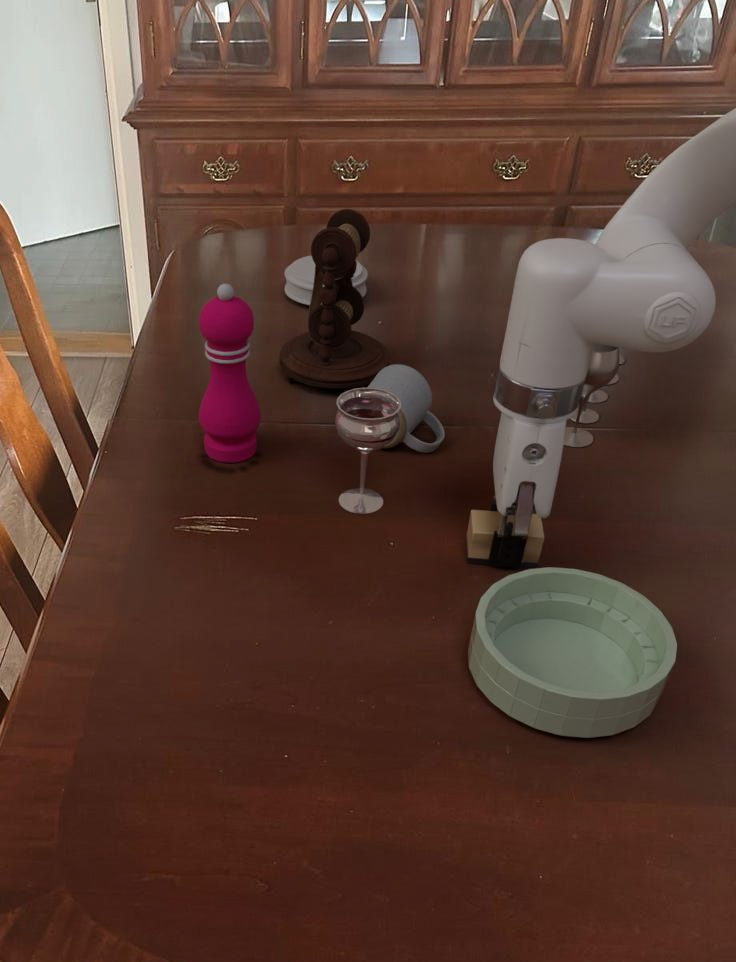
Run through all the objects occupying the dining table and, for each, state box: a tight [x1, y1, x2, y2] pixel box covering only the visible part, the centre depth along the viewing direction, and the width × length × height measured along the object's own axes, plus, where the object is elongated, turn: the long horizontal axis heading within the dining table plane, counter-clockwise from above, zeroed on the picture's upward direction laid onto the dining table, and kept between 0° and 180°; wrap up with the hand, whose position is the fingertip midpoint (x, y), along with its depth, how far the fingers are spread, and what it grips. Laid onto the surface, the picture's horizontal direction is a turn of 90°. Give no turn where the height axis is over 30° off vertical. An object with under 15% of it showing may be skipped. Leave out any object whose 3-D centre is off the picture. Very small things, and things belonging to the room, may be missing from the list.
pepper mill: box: [198, 283, 262, 464], centre depth 104 cm, size 7×7×20 cm
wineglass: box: [334, 387, 401, 515], centre depth 99 cm, size 7×7×12 cm
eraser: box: [465, 509, 545, 569], centre depth 94 cm, size 7×4×4 cm, turn 83°
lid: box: [284, 254, 368, 306], centre depth 142 cm, size 13×13×5 cm
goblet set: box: [563, 343, 624, 448], centre depth 115 cm, size 28×6×13 cm, turn 154°
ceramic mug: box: [366, 363, 446, 454], centre depth 110 cm, size 11×8×8 cm
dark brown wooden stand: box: [279, 208, 391, 389], centre depth 118 cm, size 15×15×20 cm
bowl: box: [467, 566, 678, 739], centre depth 81 cm, size 17×17×6 cm
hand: (502, 549), depth 95 cm, fingers closed on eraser, 4 cm apart
